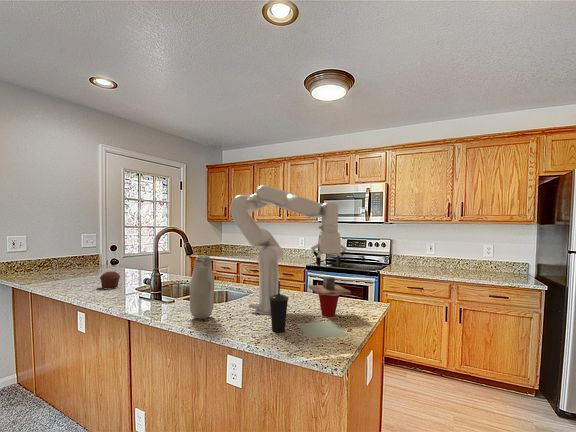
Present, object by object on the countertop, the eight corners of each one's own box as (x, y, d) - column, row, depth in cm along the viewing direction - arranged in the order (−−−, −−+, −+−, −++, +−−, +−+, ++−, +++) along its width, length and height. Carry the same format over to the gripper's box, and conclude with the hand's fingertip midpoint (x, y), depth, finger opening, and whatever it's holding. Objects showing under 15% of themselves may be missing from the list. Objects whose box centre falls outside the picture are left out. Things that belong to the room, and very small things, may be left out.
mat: (308, 340, 109) (308, 338, 109) (296, 325, 124) (296, 323, 125) (348, 337, 113) (348, 335, 113) (332, 323, 128) (332, 321, 128)
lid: (318, 295, 129) (319, 281, 129) (308, 287, 143) (308, 275, 144) (350, 293, 132) (351, 280, 133) (337, 286, 147) (337, 274, 147)
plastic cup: (340, 321, 131) (340, 294, 131) (315, 319, 133) (316, 292, 134) (340, 314, 142) (341, 288, 142) (318, 312, 144) (318, 287, 144)
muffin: (107, 290, 184) (108, 273, 184) (94, 288, 188) (95, 272, 188) (124, 286, 195) (124, 271, 195) (112, 285, 199) (112, 270, 199)
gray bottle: (184, 320, 130) (186, 255, 130) (199, 313, 139) (201, 253, 140) (203, 323, 126) (204, 257, 127) (217, 316, 136) (218, 254, 136)
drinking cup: (272, 337, 111) (273, 283, 112) (266, 330, 118) (266, 280, 119) (291, 334, 115) (292, 282, 115) (283, 328, 122) (284, 279, 122)
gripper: (314, 228, 133) (313, 267, 133) (350, 229, 137) (349, 266, 137) (309, 228, 140) (308, 264, 140) (343, 229, 144) (342, 264, 144)
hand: (328, 265), depth 138 cm, fingers open, 9 cm apart
